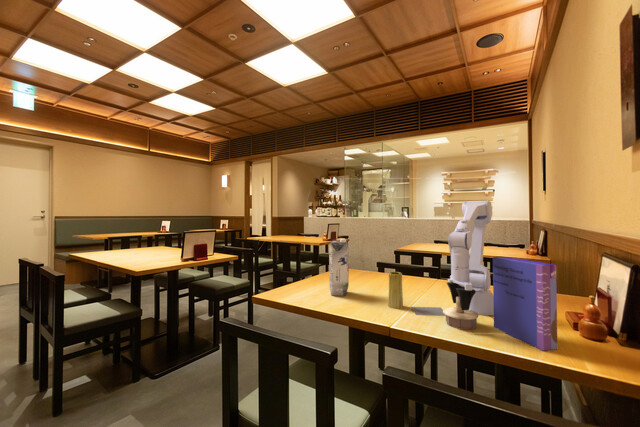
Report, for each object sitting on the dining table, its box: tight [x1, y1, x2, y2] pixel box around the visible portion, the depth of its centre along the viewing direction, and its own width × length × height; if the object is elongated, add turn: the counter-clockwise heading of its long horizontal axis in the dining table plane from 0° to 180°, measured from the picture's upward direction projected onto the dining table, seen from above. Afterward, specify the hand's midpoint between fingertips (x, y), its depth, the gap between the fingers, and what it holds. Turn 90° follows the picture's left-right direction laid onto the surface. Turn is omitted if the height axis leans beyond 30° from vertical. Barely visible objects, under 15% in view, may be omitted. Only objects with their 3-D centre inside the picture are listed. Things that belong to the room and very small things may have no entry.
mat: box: [410, 306, 446, 317], centre depth 115 cm, size 12×10×1 cm
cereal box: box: [492, 256, 559, 352], centre depth 90 cm, size 17×5×24 cm, turn 12°
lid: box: [442, 297, 479, 320], centre depth 100 cm, size 11×11×6 cm
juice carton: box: [328, 238, 350, 297], centre depth 143 cm, size 9×10×27 cm
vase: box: [387, 271, 404, 310], centre depth 121 cm, size 6×6×14 cm
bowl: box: [445, 315, 478, 331], centre depth 100 cm, size 9×9×4 cm
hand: (460, 306), depth 100 cm, fingers open, 7 cm apart
